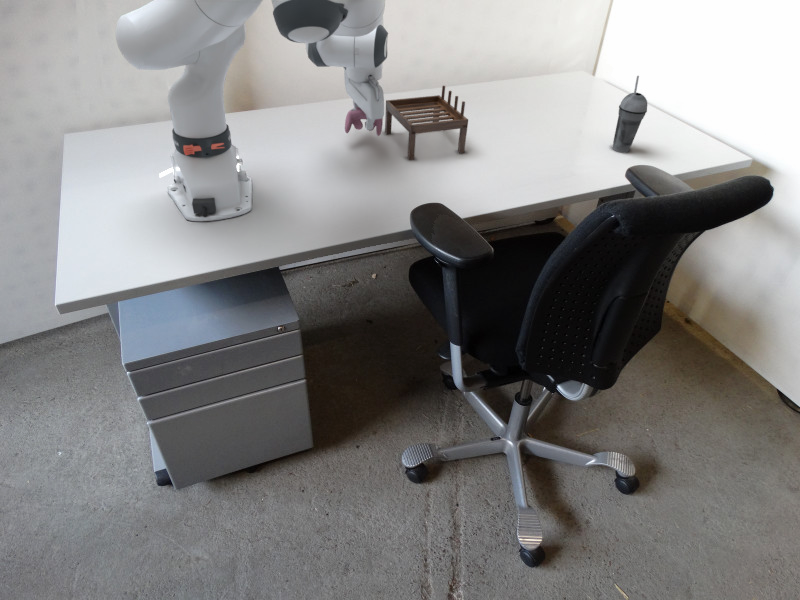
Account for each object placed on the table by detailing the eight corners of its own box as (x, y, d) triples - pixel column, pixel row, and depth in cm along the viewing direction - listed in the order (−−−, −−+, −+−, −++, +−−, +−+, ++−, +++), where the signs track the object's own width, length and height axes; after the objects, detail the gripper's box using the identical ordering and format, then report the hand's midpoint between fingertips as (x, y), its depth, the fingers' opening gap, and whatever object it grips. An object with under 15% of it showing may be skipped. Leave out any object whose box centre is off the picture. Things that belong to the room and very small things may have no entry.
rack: (464, 152, 157) (470, 105, 149) (409, 160, 152) (412, 112, 144) (436, 126, 169) (440, 82, 161) (384, 132, 164) (386, 87, 156)
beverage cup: (635, 156, 160) (659, 82, 148) (608, 152, 161) (629, 79, 149) (632, 145, 166) (655, 73, 153) (606, 142, 167) (626, 70, 154)
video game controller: (382, 137, 157) (384, 109, 155) (380, 136, 152) (383, 108, 151) (345, 133, 157) (347, 106, 156) (343, 132, 153) (345, 104, 151)
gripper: (391, 82, 139) (389, 137, 148) (363, 56, 153) (362, 107, 162) (366, 84, 137) (365, 140, 146) (340, 57, 151) (340, 109, 160)
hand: (363, 122), depth 154 cm, fingers closed on video game controller, 7 cm apart
